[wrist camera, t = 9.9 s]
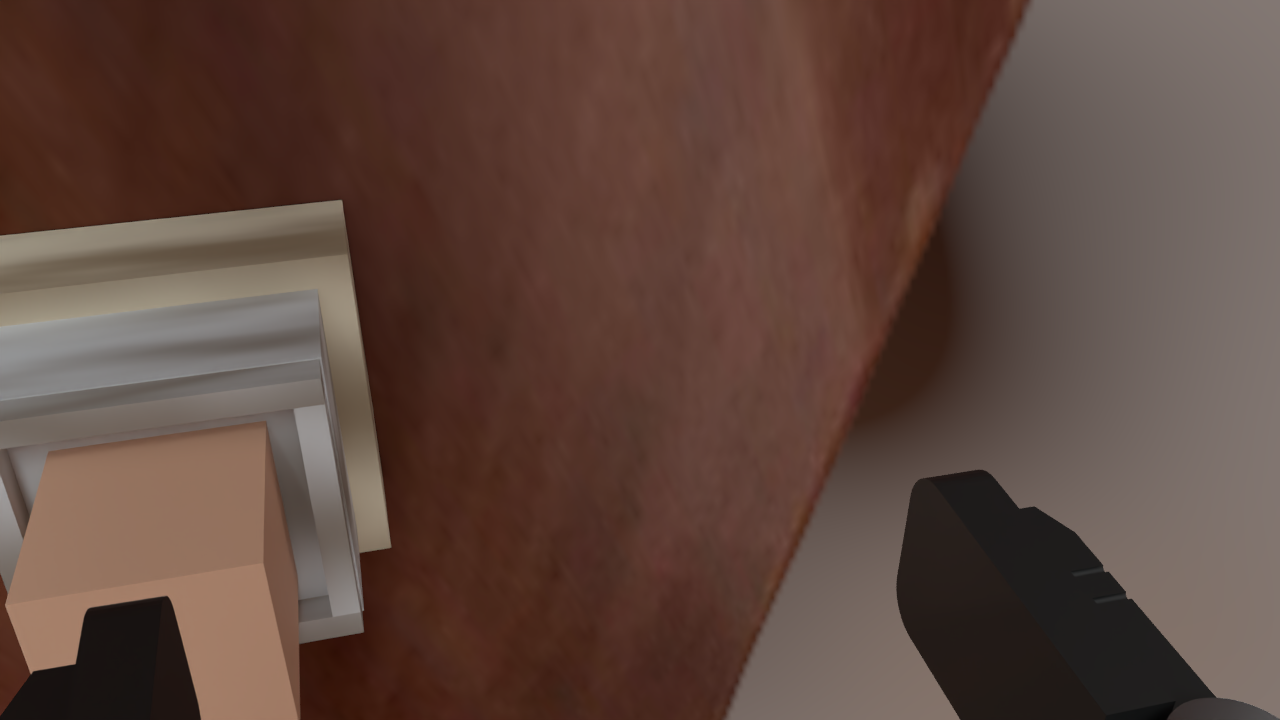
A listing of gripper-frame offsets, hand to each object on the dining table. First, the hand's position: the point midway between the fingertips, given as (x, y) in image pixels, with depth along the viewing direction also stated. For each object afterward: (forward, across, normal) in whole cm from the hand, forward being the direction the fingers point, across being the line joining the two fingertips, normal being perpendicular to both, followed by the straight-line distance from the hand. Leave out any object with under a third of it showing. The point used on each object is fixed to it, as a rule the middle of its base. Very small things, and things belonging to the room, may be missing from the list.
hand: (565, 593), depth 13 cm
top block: (+19, +7, +13) cm, 24 cm away
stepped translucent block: (+27, +7, +13) cm, 31 cm away
